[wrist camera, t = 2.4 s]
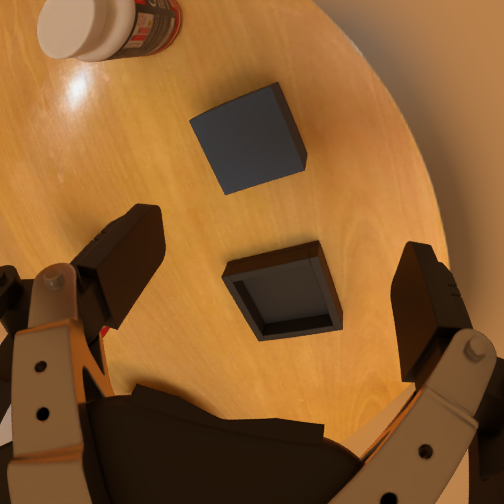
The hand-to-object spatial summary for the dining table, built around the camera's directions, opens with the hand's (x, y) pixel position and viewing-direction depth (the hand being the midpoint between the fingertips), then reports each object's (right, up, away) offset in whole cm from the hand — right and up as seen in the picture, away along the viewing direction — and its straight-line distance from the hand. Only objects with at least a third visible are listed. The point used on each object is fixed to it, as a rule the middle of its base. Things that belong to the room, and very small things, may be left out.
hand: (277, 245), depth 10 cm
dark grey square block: (0, +9, +13) cm, 16 cm away
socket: (+3, -4, +21) cm, 21 cm away
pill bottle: (-9, +18, +9) cm, 22 cm away
